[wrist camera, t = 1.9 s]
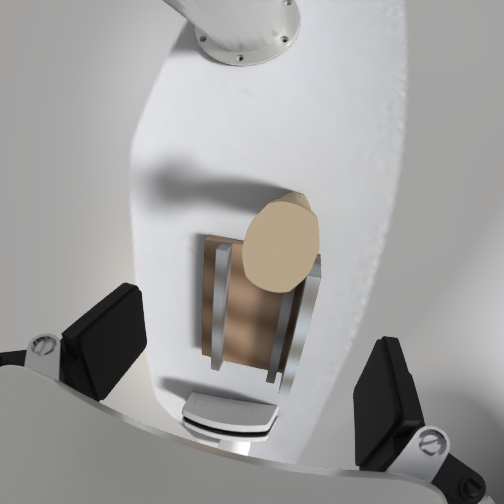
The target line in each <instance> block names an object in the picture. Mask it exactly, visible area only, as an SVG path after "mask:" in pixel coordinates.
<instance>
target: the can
mask: <svg viewBox="0 0 504 504" xmlns="http://www.w3.org/2000/svg"><path fill="white" fill-rule="evenodd" d="M249 448H250V442H237V441H229V440H223V439H221V440H220V443H219V446H218V449H221V450H225V451H229V452H233V453H237V454H241V455H245V456H247V455H248V451H249Z"/></svg>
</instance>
